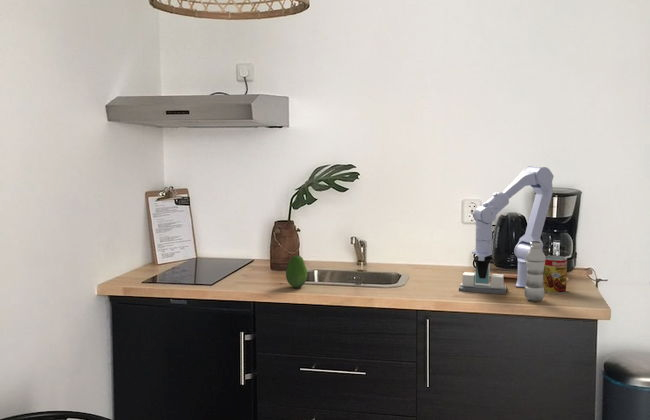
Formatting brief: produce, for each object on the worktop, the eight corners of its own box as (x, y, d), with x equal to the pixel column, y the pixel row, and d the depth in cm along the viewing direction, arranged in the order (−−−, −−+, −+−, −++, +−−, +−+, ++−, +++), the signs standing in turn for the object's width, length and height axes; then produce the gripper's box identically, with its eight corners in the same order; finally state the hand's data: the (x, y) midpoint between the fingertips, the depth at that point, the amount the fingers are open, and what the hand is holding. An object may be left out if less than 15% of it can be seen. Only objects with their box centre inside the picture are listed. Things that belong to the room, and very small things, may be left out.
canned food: (557, 294, 219) (558, 260, 218) (538, 290, 225) (539, 257, 224) (570, 291, 224) (571, 258, 222) (551, 287, 230) (552, 254, 229)
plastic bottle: (539, 297, 215) (541, 240, 213) (547, 302, 209) (549, 243, 206) (521, 298, 215) (522, 240, 213) (528, 303, 208) (530, 243, 206)
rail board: (506, 288, 229) (507, 273, 228) (504, 294, 220) (505, 278, 220) (462, 285, 234) (462, 270, 234) (458, 290, 226) (458, 275, 225)
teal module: (489, 281, 228) (489, 262, 227) (488, 283, 224) (488, 264, 224) (476, 280, 230) (476, 261, 229) (475, 283, 226) (475, 264, 225)
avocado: (310, 285, 236) (309, 254, 235) (302, 290, 229) (302, 258, 228) (290, 284, 239) (290, 253, 238) (282, 288, 232) (281, 256, 230)
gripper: (474, 236, 233) (474, 271, 235) (469, 242, 220) (469, 280, 221) (494, 236, 231) (493, 273, 232) (490, 243, 217) (489, 281, 219)
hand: (483, 276), depth 227 cm, fingers closed on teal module, 4 cm apart
